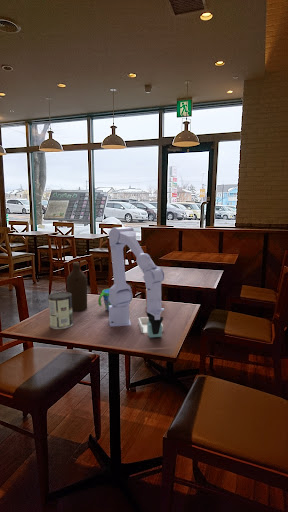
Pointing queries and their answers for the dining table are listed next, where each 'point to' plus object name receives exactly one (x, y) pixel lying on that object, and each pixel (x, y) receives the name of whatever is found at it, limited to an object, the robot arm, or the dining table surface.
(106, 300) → the snack cup
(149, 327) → the teal block
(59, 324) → the coffee can
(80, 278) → the olive oil
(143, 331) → the open box
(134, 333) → the dining table surface
